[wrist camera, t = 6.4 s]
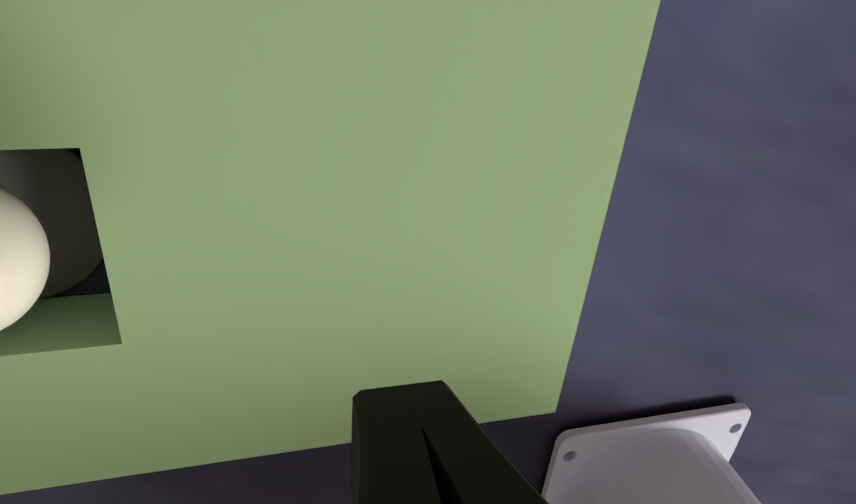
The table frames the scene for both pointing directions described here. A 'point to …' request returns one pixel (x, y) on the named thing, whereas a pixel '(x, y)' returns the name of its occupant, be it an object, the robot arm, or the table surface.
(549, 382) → the putting mat
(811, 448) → the table surface
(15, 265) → the ball
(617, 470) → the robot arm
